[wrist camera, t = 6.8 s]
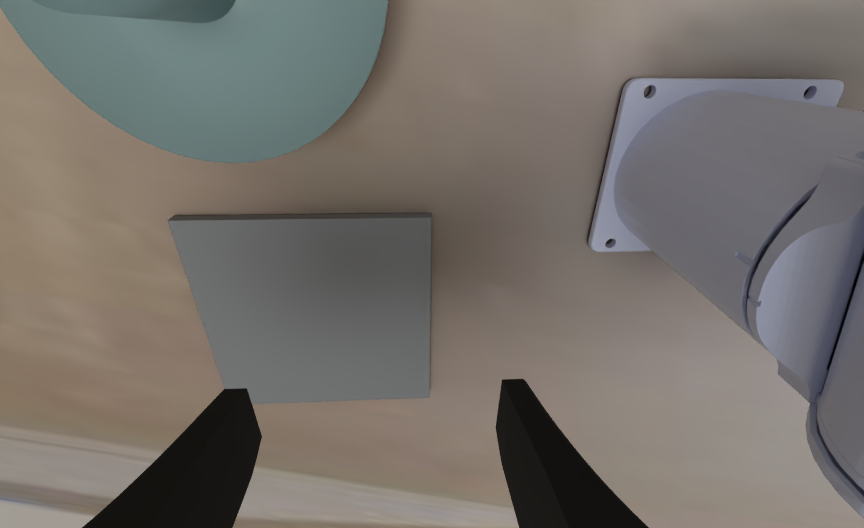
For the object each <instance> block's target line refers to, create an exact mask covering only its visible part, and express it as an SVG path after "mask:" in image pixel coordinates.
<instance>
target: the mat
mask: <svg viewBox="0 0 864 528" xmlns="http://www.w3.org/2000/svg"><path fill="white" fill-rule="evenodd" d="M168 224H169V227H170V229H171V232H172V235H173V238H174V241H175V244H176V247H177V250H178V253H179V256H180V259H181V261H182V264H183V267H184V270H185V273H186V276H187V279H188V282H189V285H190V288H191V291H192V294H193V296H194V299H195V302H196V305H197V308H198V311H199V314H200V317H201V320H202V323H203V326H204V329H205V331H206V334H207V337H208V340H209V343H210V346H211V349H212V352H213V355H214V358H215V361H216V364H217V366H218V369H219V372H220V375H221V378H222V381H223V384H224V387H225V389H240V388H247V390H248V393H249V396H250V400H251V403H252V404H265V403H293V402H321V401H349V400H377V399H405V398H430V306H431V213H368V214H277V215H186V216H173V217H172V218H170V219H169V220H168Z"/></svg>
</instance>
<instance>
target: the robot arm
mask: <svg viewBox="0 0 864 528" xmlns="http://www.w3.org/2000/svg"><path fill="white" fill-rule="evenodd" d="M649 85H650V86H651V92H650V94H649V95H648V96H647V97H644V90H645V88H646V87H647V86H649ZM807 88H809V89H808V92H807V94H806V95H805V96H804V92H805V91H806V89H807ZM843 90H844V83H843V82H842V81H840V80H834V79H738V78H634V79H631V80H630V81H628V82H627V83H626V85H625V86H624V88H623V91H622V95H621V99H620V104H619V108H618V112H617V117H616V121H615V126H614V130H613V134H612V139H611V143H610V148H609V152H608V156H607V161H606V165H605V170H604V174H603V178H602V183H601V187H600V192H599V196H598V200H597V205H596V209H595V214H594V218H593V222H592V227H591V231H590V236H589V240H588V244H589V246H590V248H591V249H592V250H594V251H596V252H624V251H653V252H654V253H655V254H656V255H658V256H659V257H660V258H661V259H662V260H663V261H665V262H666V263H667V264H668V265H669V266H670V267H671V268H673V269H674V270H675V271H676V272H677V273H678V274H680V275H681V276H682V277H683V278H684V279H685V280H686V281H688V282H689V283H690V284H691V285H692V286H693V287H695V288H696V289H697V290H698V291H699V292H700V293H702V294H703V295H704V296H705V297H706V298H707V299H708V300H710V301H711V302H712V303H713V304H714V305H715V306H717V307H718V308H719V309H720V310H721V311H722V312H723V313H725V314H726V315H727V316H728V317H729V318H730V319H732V320H733V321H734V322H735V323H736V324H737V325H739V326H740V327H741V328H742V329H743V330H744V331H745V332H747V333H748V334H749V335H750V336H751V337H752V338H754V339H755V340H756V341H757V342H758V343H759V344H761V345H762V346H763V347H764V348H765V349H766V350H767V351H769V352H770V353H771V354H772V355H773V356H774V357H775V358H776V359H777V362H778V375H780V376H781V377H782V378H783V379H784V380H785V381H786V382H787V383H788V384H790V385H791V386H792V387H793V388H794V389H795V390H796V391H797V392H798V393H799V394H801V395H802V396H803V397H804V398H805V399H806V400H807V401H808V402H809V403H810V406H809V409H808V413H807V419H806V433H807V440H808V444H809V446H810V449H811V452H812V454H813V457H814V459H815V461H816V462H817V464H818V466H819V468H820V469H821V471H822V473H823V474H824V476H825V477H826V478H827V480H828V481H829V482H830V483H831V485H832V486H833V487H834V489H835V490H836V491H837V492H838V494H839V495H840V496H841V497H842V498H843V499H844V500H845V501H846V502H847V503H848V504H849V505H850V506H851V507H852V508H853V509H854V510H855V511H856V512H857V513H858V514H859V515H860V516H862V517H863V518H864V111H859V110H852V109H846V108H840V107H836V106H837V104H838V101H839V99H840V97H841V95H842V93H843ZM609 239H612V241H611V243H609V244H606V245H605V243H606V241H607V240H609ZM496 432H497V438H498V444H499V450H500V456H501V462H502V466H503V470H504V474H505V477H506V481H507V485H508V488H509V492H510V496H511V499H512V503H513V506H514V510H515V514H516V517H517V521H518V524H519V528H649V527H647V526H646V525H645V524H644V523H643V522H642V521H641V520H640V519H639V518H638V517H637V516H636V515H635V514H634V513H633V512H632V511H631V510H630V509H629V508H628V507H627V506H626V505H625V504H624V503H623V502H622V501H621V500H620V499H619V498H618V497H617V496H616V495H615V494H614V492H613V491H612V490H611V489H610V488H609V487H608V486H607V485H606V484H605V483H604V482H603V481H602V479H601V478H600V477H599V476H598V475H597V474H596V473H595V472H594V470H593V469H592V468H591V467H590V466H589V465H588V463H587V462H586V461H585V460H584V459H583V458H582V456H581V455H580V454H579V453H578V452H577V450H576V449H575V448H574V447H573V445H572V444H571V443H570V442H569V440H568V439H567V438H566V437H565V435H564V434H563V433H562V431H561V430H560V429H559V428H558V426H557V425H556V424H555V422H554V421H553V420H552V418H551V417H550V416H549V414H548V413H547V411H546V410H545V409H544V407H543V406H542V404H541V403H540V402H539V400H538V399H537V397H536V396H535V394H534V393H533V391H532V390H531V388H530V387H529V385H528V384H527V382H526V381H525V380H524V379H508V380H502V385H501V392H500V400H499V407H498V415H497V422H496ZM261 438H262V436H261V432H260V429H259V426H258V423H257V419H256V416H255V413H254V410H253V406H252V403H251V400H250V396H249V393H248V390H247V388H240V389H224V390H223V391H222V392H221V393H220V394H219V395H218V396H217V397H216V398H215V399H214V400H213V401H212V403H211V404H210V405H209V406H208V407H207V408H206V409H205V410H204V411H203V412H202V413H201V414H200V415H199V416H198V417H197V418H196V419H195V421H194V422H193V423H192V424H191V425H190V426H189V427H188V428H187V429H186V430H185V431H184V432H183V433H182V434H181V435H180V436H179V437H178V438H177V439H176V440H175V441H174V442H173V443H172V444H171V445H170V446H169V447H168V448H167V449H166V450H165V451H164V452H163V453H162V455H161V456H160V457H159V458H158V459H157V460H156V461H155V462H154V463H153V464H152V465H150V466H149V467H148V468H147V469H146V470H145V471H144V472H143V473H142V474H141V475H140V476H139V477H138V478H137V479H136V480H135V481H134V482H133V483H132V484H131V485H129V486H128V487H127V488H126V489H125V490H124V491H123V492H122V493H121V494H120V495H119V496H118V497H117V498H116V499H114V500H113V501H112V502H111V503H110V504H109V505H108V506H107V507H106V508H104V509H103V510H102V511H101V512H100V513H99V514H98V515H96V516H95V517H94V518H93V519H92V520H91V521H90V522H88V523H87V524H86V525H85V526H84V527H82V528H232V527H233V525H234V522H235V519H236V517H237V514H238V511H239V509H240V506H241V504H242V501H243V498H244V496H245V493H246V490H247V488H248V485H249V482H250V479H251V477H252V474H253V470H254V466H255V462H256V459H257V455H258V450H259V446H260V442H261Z"/></svg>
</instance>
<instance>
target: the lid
mask: <svg viewBox="0 0 864 528" xmlns="http://www.w3.org/2000/svg"><path fill="white" fill-rule="evenodd" d="M388 6H389V0H0V7H1V9H2V11H3V12H4V14H5V16H6V17H7V19H8V20H9V21H10V23H11V24H12V26H13V27H14V28H15V30H16V31H17V33H18V34H19V35H20V37H21V38H22V39H23V41H24V42H25V44H26V45H27V46H28V47H29V48H30V50H31V51H32V52H33V53H34V54H35V55H36V57H37V58H38V59H39V60H40V61H41V62H42V64H43V65H44V66H45V67H46V68H47V69H48V70H49V71H50V72H51V73H52V74H53V75H54V76H55V77H56V78H57V79H58V80H59V81H60V82H61V83H62V84H63V85H64V86H65V87H66V88H67V89H68V90H69V91H70V92H71V93H72V94H74V95H75V96H76V97H77V98H78V99H80V100H81V101H82V102H83V103H84V104H86V105H87V106H88V107H89V108H91V109H92V110H93V111H94V112H96V113H97V114H99V115H100V116H102V117H103V118H105V119H106V120H108V121H109V122H110V123H112V124H113V125H115V126H116V127H118V128H120V129H122V130H124V131H125V132H127V133H129V134H131V135H133V136H134V137H136V138H138V139H140V140H142V141H144V142H147V143H149V144H151V145H154V146H156V147H158V148H160V149H163V150H166V151H169V152H172V153H175V154H179V155H182V156H185V157H189V158H194V159H199V160H204V161H211V162H224V163H242V162H254V161H260V160H265V159H271V158H274V157H277V156H280V155H283V154H286V153H289V152H292V151H294V150H296V149H298V148H300V147H302V146H304V145H306V144H308V143H310V142H311V141H313V140H314V139H315V138H317V137H318V136H320V135H321V134H323V133H324V132H325V131H327V130H328V129H329V128H330V127H331V126H332V125H333V124H334V123H335V122H336V121H337V120H338V119H339V118H340V117H341V116H342V115H343V114H344V113H345V112H346V110H347V109H348V108H349V107H350V105H351V104H352V103H353V101H354V100H355V99H356V98H357V96H358V95H359V93H360V92H361V90H362V88H363V86H364V85H365V83H366V81H367V80H368V78H369V76H370V74H371V71H372V69H373V66H374V64H375V62H376V59H377V57H378V54H379V50H380V47H381V43H382V39H383V36H384V32H385V26H386V19H387V13H388Z"/></svg>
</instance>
